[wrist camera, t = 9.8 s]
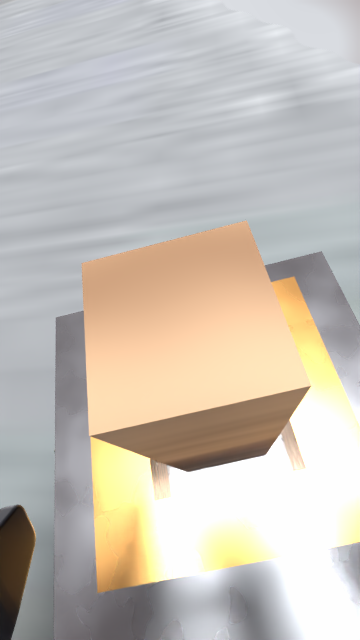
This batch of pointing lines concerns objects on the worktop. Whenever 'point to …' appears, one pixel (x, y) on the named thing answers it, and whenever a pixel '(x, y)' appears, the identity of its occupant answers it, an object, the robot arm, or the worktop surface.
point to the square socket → (218, 504)
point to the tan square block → (189, 351)
